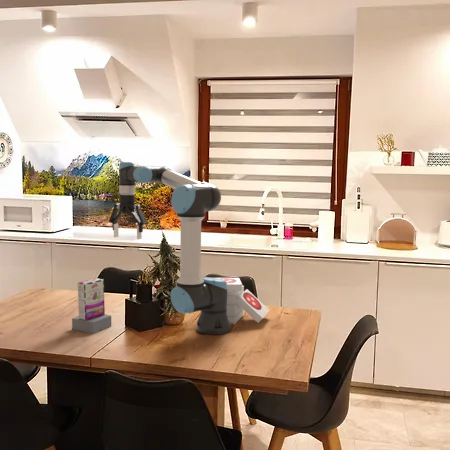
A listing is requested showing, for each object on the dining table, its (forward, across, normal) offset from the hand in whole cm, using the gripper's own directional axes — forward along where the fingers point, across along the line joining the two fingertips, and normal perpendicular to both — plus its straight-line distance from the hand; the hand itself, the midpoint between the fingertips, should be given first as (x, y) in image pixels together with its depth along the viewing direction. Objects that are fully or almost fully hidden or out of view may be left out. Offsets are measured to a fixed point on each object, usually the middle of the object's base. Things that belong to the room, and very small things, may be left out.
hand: (127, 238), depth 257 cm
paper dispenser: (+37, -51, -16) cm, 65 cm away
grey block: (+37, -1, +28) cm, 46 cm away
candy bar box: (+32, 0, +28) cm, 43 cm away
